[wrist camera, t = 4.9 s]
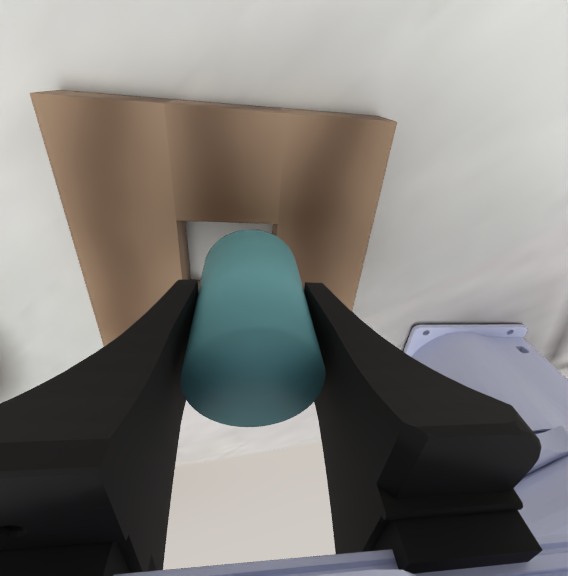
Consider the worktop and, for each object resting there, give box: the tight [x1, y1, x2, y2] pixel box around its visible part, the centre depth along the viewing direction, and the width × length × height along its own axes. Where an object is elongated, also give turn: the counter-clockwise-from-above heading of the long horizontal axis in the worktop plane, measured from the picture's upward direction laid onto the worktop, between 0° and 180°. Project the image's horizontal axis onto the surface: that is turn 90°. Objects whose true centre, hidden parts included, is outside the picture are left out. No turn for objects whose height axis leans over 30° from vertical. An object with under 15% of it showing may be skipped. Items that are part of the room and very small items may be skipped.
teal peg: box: [181, 230, 326, 427], centre depth 11 cm, size 4×4×6 cm
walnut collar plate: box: [30, 90, 397, 346], centre depth 19 cm, size 15×15×2 cm
